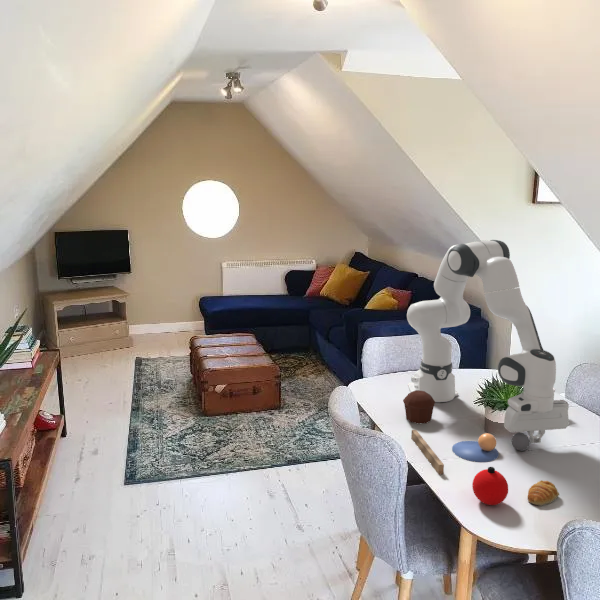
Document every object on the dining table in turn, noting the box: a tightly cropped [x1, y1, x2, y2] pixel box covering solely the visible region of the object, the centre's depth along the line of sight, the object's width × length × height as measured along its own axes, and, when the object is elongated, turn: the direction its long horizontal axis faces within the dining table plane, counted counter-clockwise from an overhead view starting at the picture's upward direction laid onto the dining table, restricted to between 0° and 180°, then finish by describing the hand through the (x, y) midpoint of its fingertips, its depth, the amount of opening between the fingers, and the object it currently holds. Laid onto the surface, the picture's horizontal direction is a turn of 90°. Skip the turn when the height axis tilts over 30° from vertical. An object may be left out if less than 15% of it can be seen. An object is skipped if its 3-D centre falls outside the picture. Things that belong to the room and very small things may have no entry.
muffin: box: [402, 390, 436, 425], centre depth 202 cm, size 12×11×10 cm
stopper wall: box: [410, 429, 445, 475], centre depth 175 cm, size 24×2×3 cm, turn 8°
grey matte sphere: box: [510, 432, 531, 452], centre depth 178 cm, size 6×6×6 cm
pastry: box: [527, 480, 560, 507], centre depth 151 cm, size 9×7×4 cm
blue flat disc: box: [451, 440, 499, 463], centre depth 178 cm, size 14×14×1 cm
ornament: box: [471, 466, 509, 506], centre depth 148 cm, size 9×9×10 cm
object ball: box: [477, 432, 498, 451], centre depth 178 cm, size 6×6×6 cm
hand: (534, 442), depth 180 cm, fingers closed
